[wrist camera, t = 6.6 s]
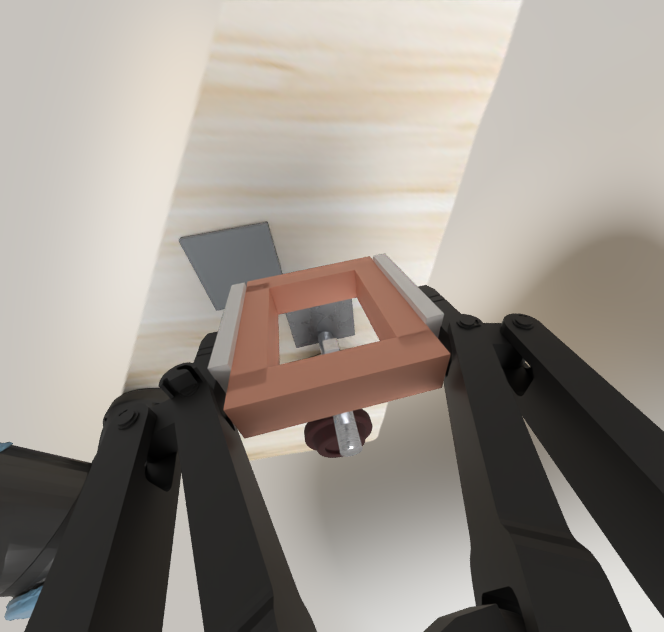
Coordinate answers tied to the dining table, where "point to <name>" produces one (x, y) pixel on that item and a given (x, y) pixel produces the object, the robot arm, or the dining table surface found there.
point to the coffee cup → (334, 433)
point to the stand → (325, 330)
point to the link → (333, 368)
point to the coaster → (231, 258)
